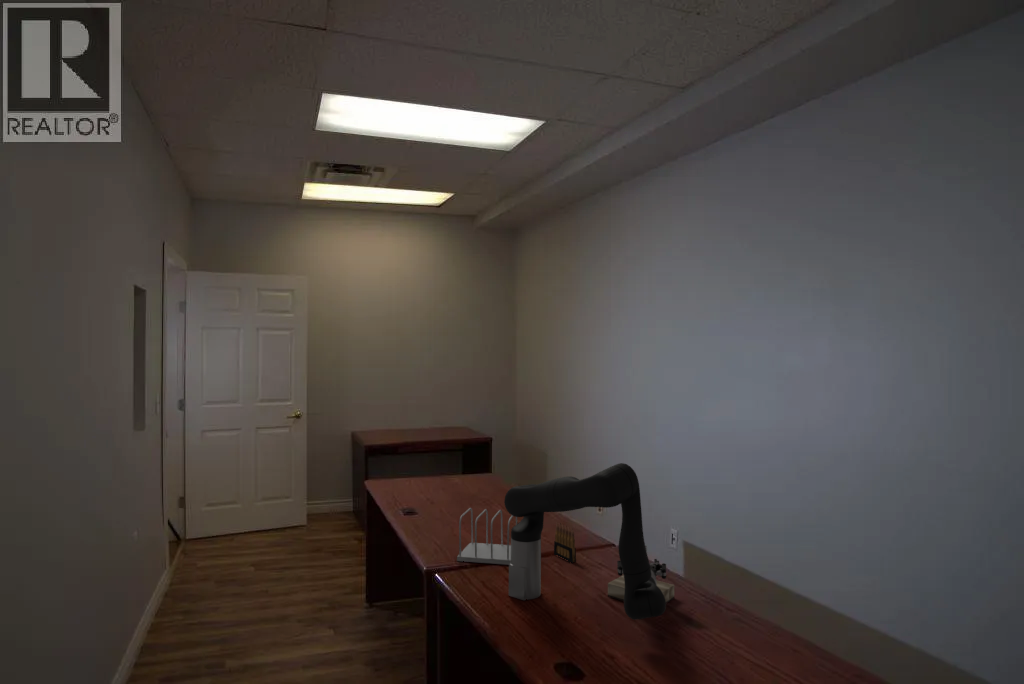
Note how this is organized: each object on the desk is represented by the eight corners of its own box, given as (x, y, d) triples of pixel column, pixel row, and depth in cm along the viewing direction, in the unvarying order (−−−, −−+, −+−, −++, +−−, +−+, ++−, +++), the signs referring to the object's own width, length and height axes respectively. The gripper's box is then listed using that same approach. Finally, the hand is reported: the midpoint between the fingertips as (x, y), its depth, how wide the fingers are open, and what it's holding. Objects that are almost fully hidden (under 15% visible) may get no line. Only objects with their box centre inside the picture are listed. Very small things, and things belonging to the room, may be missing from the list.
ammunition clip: (553, 554, 236) (553, 521, 236) (557, 554, 237) (558, 521, 237) (571, 563, 227) (572, 529, 227) (576, 562, 228) (576, 528, 228)
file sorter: (535, 551, 240) (535, 509, 240) (526, 567, 223) (527, 522, 223) (470, 546, 245) (470, 505, 245) (456, 562, 228) (456, 517, 228)
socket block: (655, 610, 188) (655, 596, 188) (607, 596, 198) (607, 583, 198) (674, 598, 197) (674, 584, 197) (627, 585, 207) (627, 572, 207)
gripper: (668, 568, 182) (665, 550, 198) (617, 565, 184) (617, 547, 200) (668, 595, 181) (664, 575, 197) (616, 591, 184) (617, 571, 200)
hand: (641, 561), depth 199 cm, fingers open, 8 cm apart
